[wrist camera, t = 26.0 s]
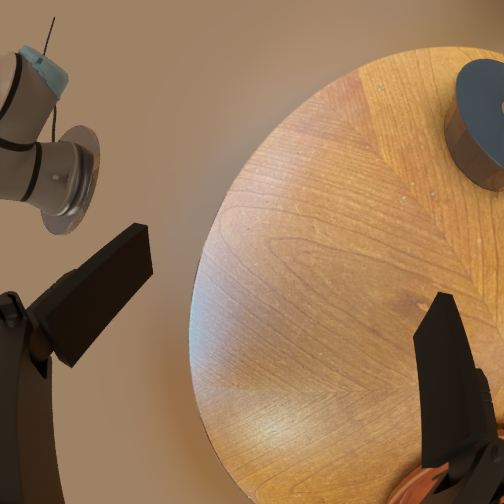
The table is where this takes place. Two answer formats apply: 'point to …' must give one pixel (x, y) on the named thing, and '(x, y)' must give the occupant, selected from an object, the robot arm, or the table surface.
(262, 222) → the table surface
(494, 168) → the pot
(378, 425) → the table surface
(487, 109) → the lid
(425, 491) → the saucer
